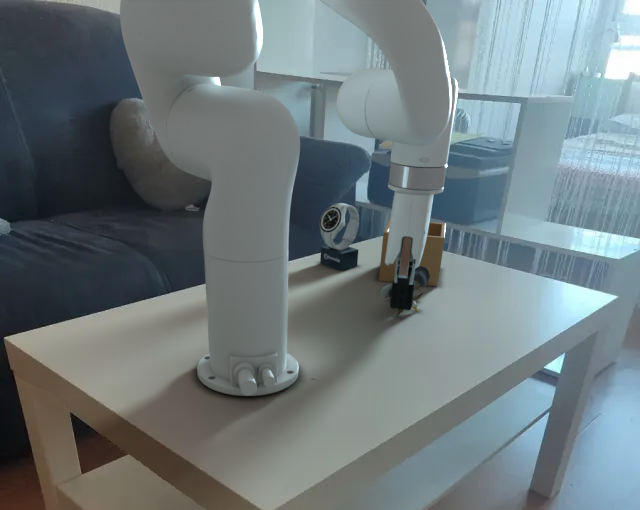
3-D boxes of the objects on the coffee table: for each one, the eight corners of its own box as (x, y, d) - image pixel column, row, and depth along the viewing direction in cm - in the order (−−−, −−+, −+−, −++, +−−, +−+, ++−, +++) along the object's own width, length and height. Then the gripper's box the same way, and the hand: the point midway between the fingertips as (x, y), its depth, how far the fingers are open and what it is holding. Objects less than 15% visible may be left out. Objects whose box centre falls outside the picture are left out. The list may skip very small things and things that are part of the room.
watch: (313, 265, 118) (315, 204, 112) (342, 257, 123) (345, 198, 117) (334, 272, 115) (338, 210, 109) (363, 264, 120) (368, 204, 114)
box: (437, 286, 111) (444, 238, 106) (378, 280, 112) (383, 232, 108) (439, 268, 120) (445, 223, 115) (384, 263, 121) (389, 218, 117)
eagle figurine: (434, 315, 96) (439, 286, 102) (413, 276, 93) (419, 249, 99) (391, 332, 100) (398, 303, 106) (368, 296, 96) (377, 268, 103)
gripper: (394, 166, 91) (381, 288, 101) (382, 185, 79) (369, 322, 88) (446, 171, 90) (428, 294, 100) (442, 190, 78) (422, 329, 87)
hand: (400, 307), depth 94 cm, fingers closed
